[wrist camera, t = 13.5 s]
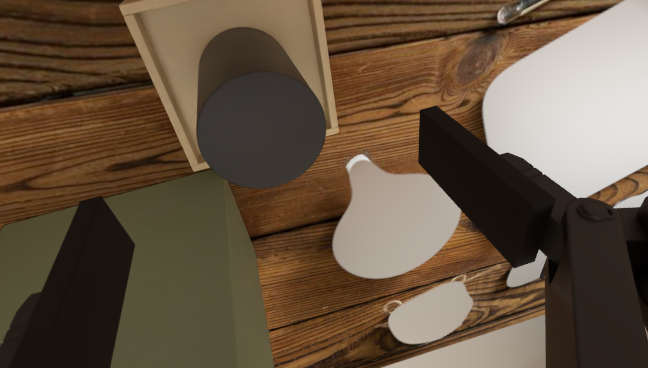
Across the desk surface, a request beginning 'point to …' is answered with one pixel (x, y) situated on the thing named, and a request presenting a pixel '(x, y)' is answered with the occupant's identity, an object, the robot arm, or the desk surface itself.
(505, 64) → the desk surface
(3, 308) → the stand
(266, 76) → the dark grey cylinder
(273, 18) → the tray
